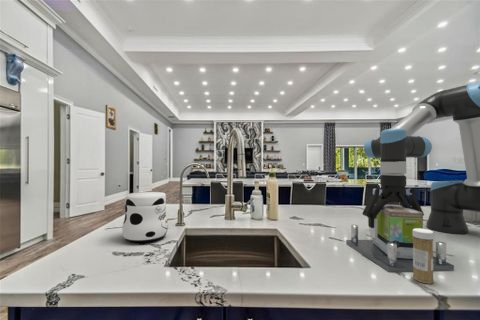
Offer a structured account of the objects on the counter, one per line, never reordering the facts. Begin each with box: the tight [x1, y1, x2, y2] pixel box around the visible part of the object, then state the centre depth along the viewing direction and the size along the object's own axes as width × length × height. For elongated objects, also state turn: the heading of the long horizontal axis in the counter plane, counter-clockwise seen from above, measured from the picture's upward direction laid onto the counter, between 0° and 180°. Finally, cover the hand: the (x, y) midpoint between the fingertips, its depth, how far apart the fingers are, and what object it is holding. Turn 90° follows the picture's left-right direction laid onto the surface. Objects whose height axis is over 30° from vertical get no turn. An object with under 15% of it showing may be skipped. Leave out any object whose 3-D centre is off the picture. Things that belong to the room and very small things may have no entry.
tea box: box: [371, 203, 424, 259], centre depth 83 cm, size 15×10×15 cm, turn 170°
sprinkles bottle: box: [412, 228, 435, 284], centre depth 65 cm, size 5×5×14 cm
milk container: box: [121, 191, 169, 243], centre depth 99 cm, size 17×17×18 cm
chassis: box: [345, 224, 455, 273], centre depth 82 cm, size 20×24×8 cm
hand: (392, 237), depth 82 cm, fingers open, 13 cm apart
